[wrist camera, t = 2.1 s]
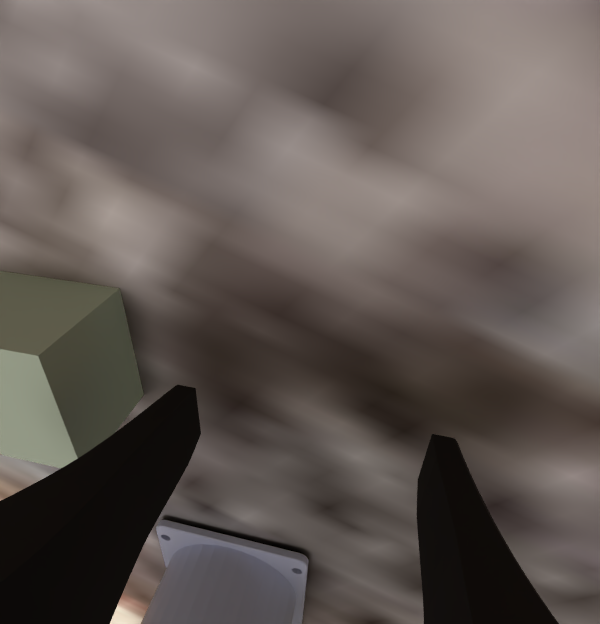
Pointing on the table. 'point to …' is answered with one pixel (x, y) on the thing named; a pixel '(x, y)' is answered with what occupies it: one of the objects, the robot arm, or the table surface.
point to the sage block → (62, 368)
